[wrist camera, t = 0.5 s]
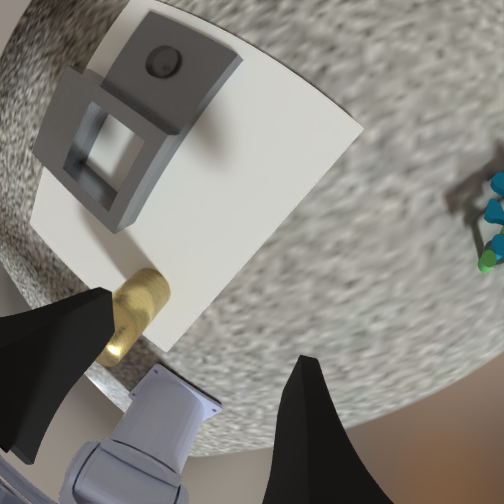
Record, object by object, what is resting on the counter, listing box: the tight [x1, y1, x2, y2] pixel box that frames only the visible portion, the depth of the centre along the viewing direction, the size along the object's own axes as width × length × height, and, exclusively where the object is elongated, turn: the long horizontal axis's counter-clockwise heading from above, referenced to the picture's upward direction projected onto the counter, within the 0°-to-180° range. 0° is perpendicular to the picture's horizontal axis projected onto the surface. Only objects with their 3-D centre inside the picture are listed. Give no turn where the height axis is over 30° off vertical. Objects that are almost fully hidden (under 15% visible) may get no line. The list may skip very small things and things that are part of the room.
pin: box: [95, 268, 171, 367], centre depth 17 cm, size 3×3×7 cm
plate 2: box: [74, 11, 243, 228], centre depth 14 cm, size 12×7×2 cm, turn 142°
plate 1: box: [32, 65, 178, 234], centre depth 15 cm, size 7×10×2 cm
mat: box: [30, 0, 364, 353], centre depth 17 cm, size 22×18×1 cm
